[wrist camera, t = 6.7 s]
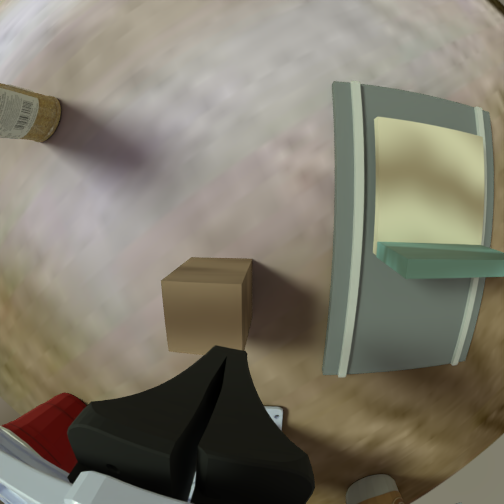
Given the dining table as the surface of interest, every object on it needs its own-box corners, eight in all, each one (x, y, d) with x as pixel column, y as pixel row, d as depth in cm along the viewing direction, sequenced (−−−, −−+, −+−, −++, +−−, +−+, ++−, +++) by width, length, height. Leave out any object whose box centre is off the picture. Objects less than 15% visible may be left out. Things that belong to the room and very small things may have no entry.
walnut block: (252, 316, 22) (242, 357, 16) (194, 313, 23) (168, 351, 17) (252, 258, 21) (241, 284, 16) (191, 257, 22) (161, 280, 16)
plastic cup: (121, 410, 26) (68, 487, 14) (108, 452, 28) (69, 514, 17) (44, 356, 26) (-22, 409, 14) (43, 407, 28) (-5, 457, 17)
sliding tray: (469, 254, 19) (520, 275, 12) (370, 252, 19) (405, 278, 13) (472, 138, 17) (524, 128, 11) (371, 121, 18) (407, 94, 11)
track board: (461, 356, 21) (466, 362, 20) (322, 369, 23) (323, 377, 21) (484, 114, 17) (491, 111, 16) (331, 84, 18) (334, 79, 17)
